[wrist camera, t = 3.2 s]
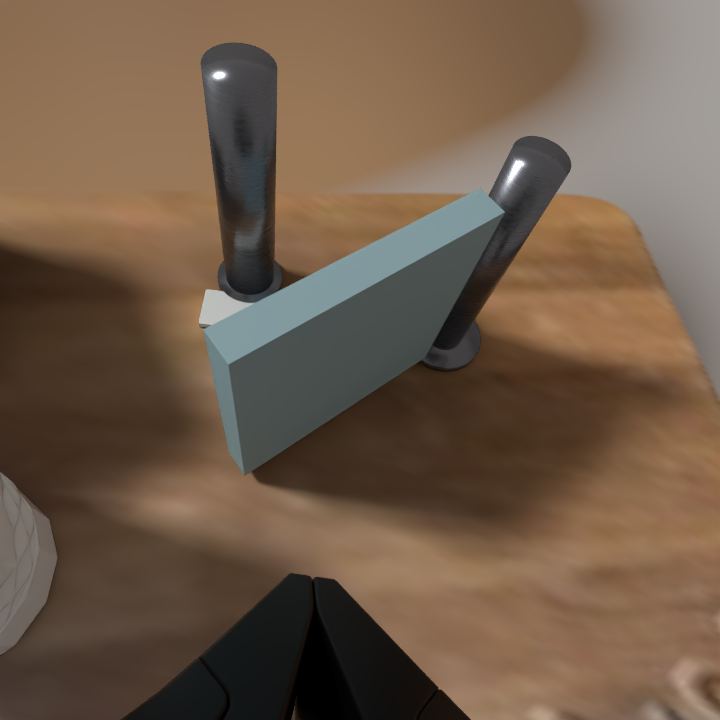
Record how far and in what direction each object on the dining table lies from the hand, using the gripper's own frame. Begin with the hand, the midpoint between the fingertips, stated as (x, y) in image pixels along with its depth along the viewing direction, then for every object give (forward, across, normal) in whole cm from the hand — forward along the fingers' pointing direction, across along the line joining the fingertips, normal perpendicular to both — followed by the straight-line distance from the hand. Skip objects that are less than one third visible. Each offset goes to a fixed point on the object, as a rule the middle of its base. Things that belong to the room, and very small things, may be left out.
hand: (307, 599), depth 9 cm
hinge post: (+18, +6, +2) cm, 19 cm away
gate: (+15, +1, -1) cm, 15 cm away
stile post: (+19, -4, +3) cm, 20 cm away
